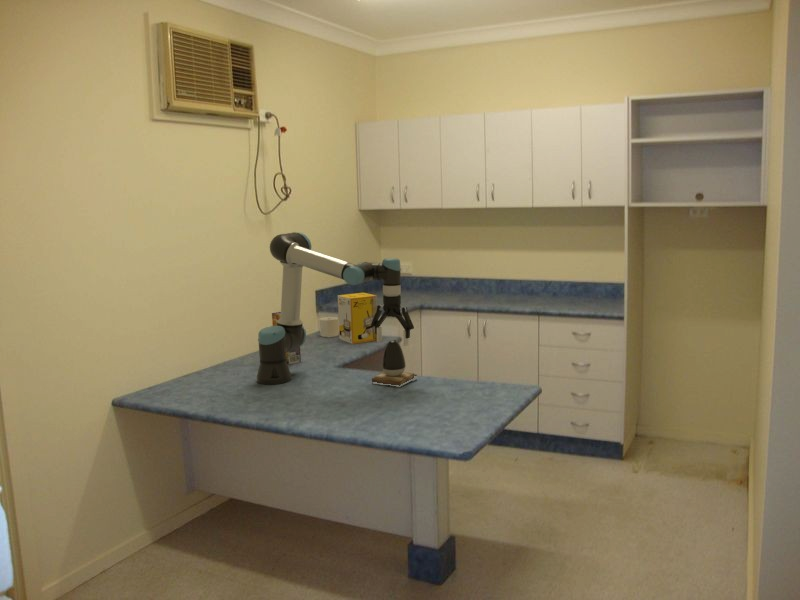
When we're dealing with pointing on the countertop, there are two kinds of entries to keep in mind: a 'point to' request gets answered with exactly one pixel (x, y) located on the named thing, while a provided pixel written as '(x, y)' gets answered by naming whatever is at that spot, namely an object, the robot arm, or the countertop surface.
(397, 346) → the pump dispenser
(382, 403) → the countertop surface
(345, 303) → the packaging box
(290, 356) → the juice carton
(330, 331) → the toilet tissue
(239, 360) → the countertop surface
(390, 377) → the stand
